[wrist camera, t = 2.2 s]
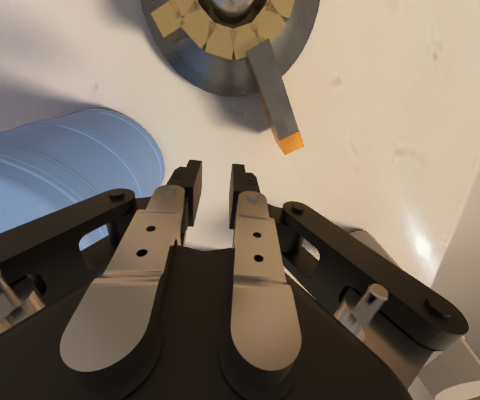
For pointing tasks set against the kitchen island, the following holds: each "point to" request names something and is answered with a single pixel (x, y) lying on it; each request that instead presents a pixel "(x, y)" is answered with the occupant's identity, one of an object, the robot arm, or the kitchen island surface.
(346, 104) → the kitchen island surface
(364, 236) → the water bottle
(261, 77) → the segmented ring on plate
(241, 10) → the housing
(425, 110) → the kitchen island surface
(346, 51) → the kitchen island surface
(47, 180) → the water jug
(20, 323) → the robot arm
